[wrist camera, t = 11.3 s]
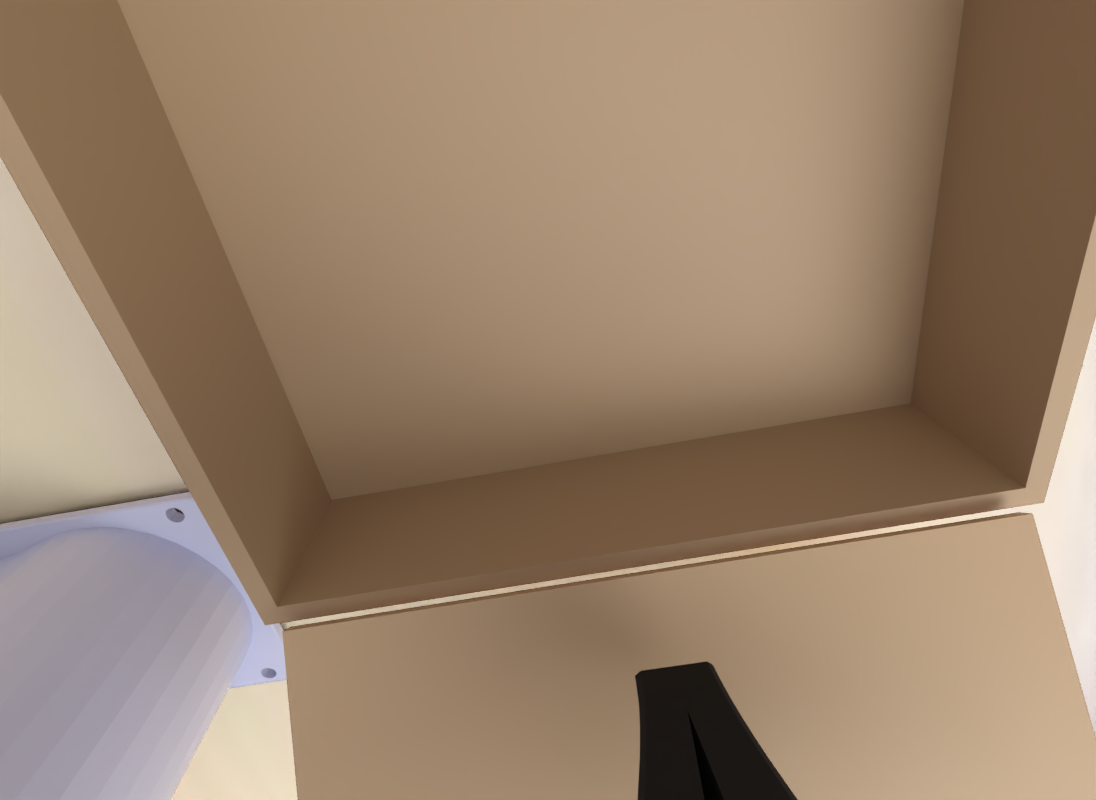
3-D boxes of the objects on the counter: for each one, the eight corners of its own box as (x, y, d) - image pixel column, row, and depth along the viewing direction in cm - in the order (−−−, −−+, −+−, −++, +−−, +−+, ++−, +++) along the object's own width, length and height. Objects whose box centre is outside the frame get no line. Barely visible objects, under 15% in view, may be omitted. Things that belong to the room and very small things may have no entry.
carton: (325, 507, 17) (265, 625, 13) (-20, -279, 10) (-404, -561, 6) (917, 409, 17) (1043, 502, 13) (1049, -532, 9) (1480, -1066, 5)
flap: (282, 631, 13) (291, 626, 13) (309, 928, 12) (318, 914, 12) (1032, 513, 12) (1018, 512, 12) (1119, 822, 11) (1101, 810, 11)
